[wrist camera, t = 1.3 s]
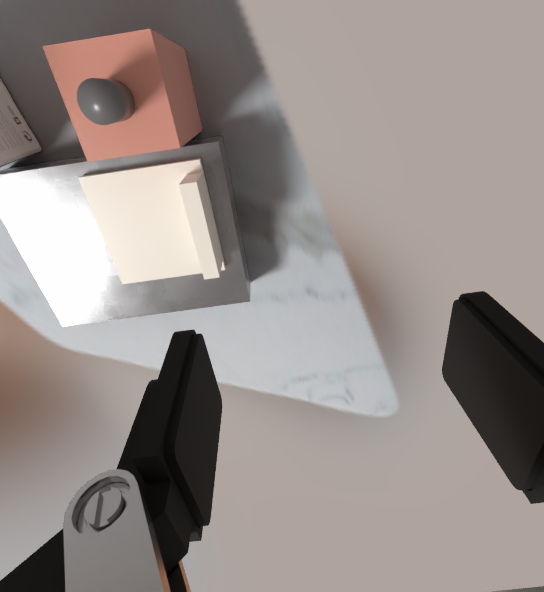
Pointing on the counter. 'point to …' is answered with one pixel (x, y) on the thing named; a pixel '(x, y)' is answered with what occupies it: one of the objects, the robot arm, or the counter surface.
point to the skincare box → (14, 131)
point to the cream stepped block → (156, 221)
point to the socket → (91, 246)
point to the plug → (126, 93)
